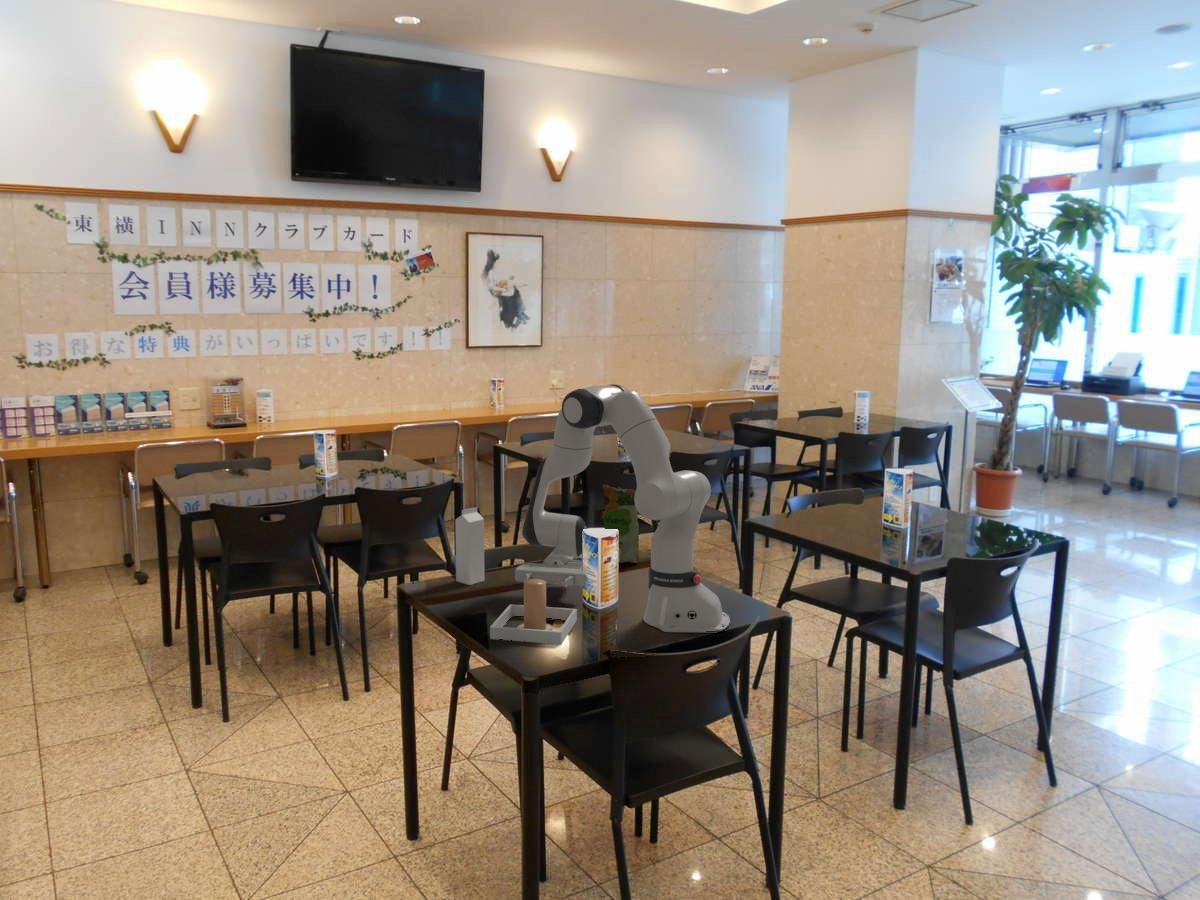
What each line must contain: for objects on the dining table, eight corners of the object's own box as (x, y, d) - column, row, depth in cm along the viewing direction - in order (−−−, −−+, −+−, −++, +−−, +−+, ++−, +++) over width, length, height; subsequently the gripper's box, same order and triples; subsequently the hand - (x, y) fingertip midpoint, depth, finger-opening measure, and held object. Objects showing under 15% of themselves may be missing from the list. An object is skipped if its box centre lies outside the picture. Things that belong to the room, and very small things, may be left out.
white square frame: (576, 620, 242) (576, 609, 241) (561, 644, 224) (561, 632, 224) (510, 615, 245) (510, 604, 244) (489, 638, 227) (489, 627, 227)
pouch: (639, 567, 291) (640, 489, 287) (601, 567, 291) (602, 489, 287) (637, 557, 302) (638, 482, 298) (600, 557, 302) (601, 482, 298)
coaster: (556, 624, 238) (556, 623, 238) (547, 636, 229) (547, 635, 229) (522, 622, 240) (522, 620, 240) (512, 633, 231) (512, 632, 231)
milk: (484, 581, 275) (484, 508, 272) (469, 585, 270) (469, 511, 267) (470, 576, 279) (470, 505, 275) (455, 581, 274) (455, 508, 271)
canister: (548, 625, 237) (548, 579, 235) (543, 632, 231) (543, 586, 229) (527, 623, 238) (527, 578, 236) (521, 631, 232) (521, 584, 230)
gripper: (521, 555, 260) (508, 569, 246) (593, 559, 256) (583, 573, 243) (521, 577, 261) (508, 591, 247) (593, 582, 257) (583, 597, 244)
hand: (546, 583), depth 245 cm, fingers open, 8 cm apart
